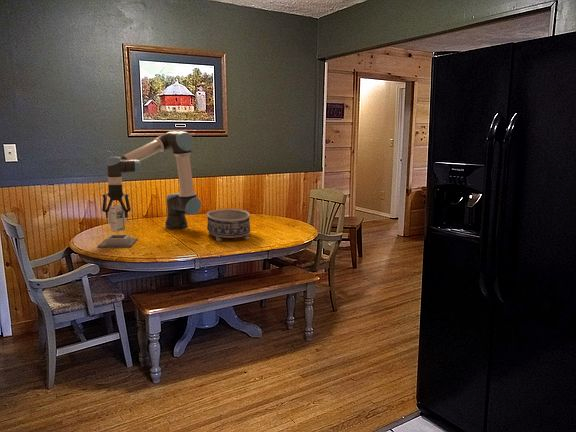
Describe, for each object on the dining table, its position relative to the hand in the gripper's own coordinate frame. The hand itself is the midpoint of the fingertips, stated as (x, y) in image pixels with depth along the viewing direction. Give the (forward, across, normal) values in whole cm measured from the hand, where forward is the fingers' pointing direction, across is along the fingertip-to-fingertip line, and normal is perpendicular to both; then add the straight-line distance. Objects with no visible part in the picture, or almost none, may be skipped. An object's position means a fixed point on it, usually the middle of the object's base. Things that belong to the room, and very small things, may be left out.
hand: (117, 223), depth 256 cm
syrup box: (+4, 0, 0) cm, 4 cm away
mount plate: (+12, 0, 0) cm, 12 cm away
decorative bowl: (+12, +63, +16) cm, 67 cm away
